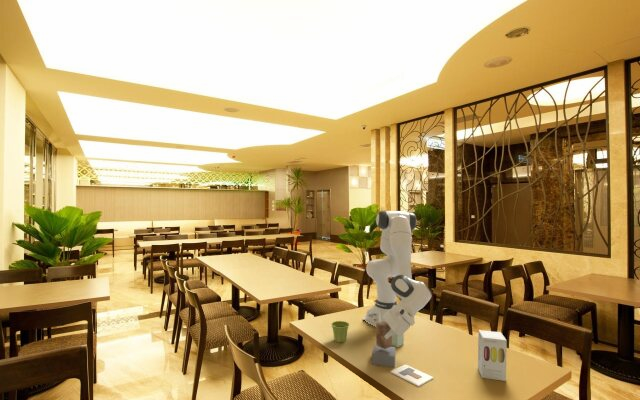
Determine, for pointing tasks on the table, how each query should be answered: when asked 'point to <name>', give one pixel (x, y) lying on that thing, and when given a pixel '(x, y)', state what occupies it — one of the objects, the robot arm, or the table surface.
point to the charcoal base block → (383, 356)
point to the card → (412, 375)
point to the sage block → (397, 340)
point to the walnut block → (380, 331)
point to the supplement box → (492, 355)
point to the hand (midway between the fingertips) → (382, 333)
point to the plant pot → (340, 330)
